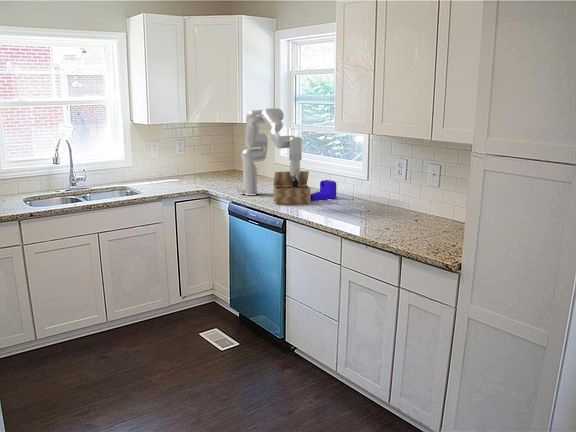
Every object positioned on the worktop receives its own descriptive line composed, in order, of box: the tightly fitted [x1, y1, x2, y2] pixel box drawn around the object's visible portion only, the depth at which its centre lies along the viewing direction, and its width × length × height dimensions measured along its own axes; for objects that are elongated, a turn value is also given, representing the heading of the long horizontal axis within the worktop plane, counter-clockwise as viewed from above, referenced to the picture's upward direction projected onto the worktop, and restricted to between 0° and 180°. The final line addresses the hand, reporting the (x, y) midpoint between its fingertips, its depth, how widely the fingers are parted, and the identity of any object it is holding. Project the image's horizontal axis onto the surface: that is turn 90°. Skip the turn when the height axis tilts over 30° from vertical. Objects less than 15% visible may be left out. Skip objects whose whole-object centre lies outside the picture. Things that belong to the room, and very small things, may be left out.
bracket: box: [310, 179, 337, 202], centre depth 349 cm, size 18×11×12 cm, turn 131°
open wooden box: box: [272, 184, 311, 205], centre depth 339 cm, size 22×12×10 cm, turn 99°
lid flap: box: [272, 170, 310, 186], centre depth 339 cm, size 22×12×1 cm
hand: (295, 187), depth 324 cm, fingers closed
